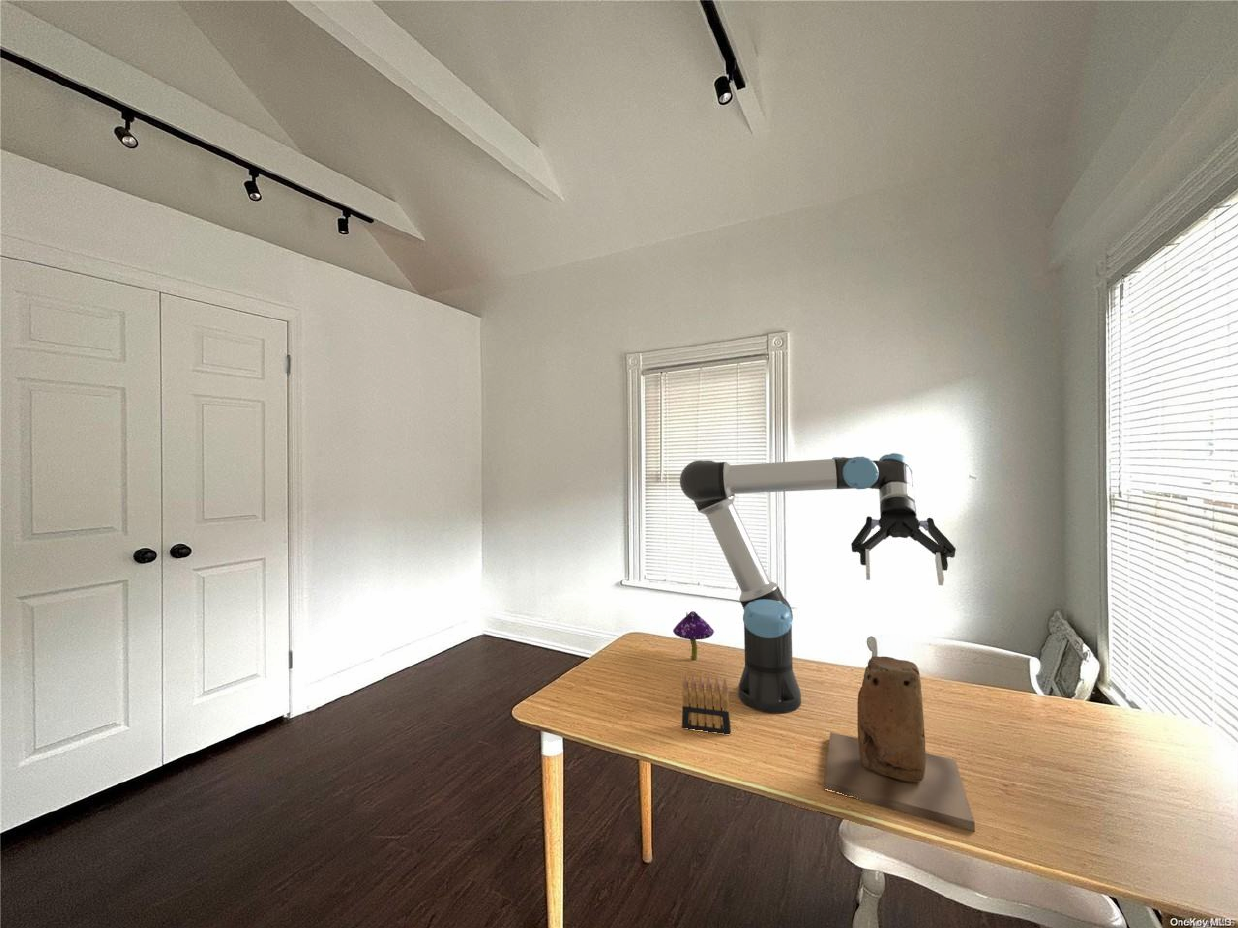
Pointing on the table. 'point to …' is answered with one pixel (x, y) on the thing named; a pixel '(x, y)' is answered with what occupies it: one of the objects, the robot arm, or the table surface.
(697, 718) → the ammunition clip
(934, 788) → the walnut board
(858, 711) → the block
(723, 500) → the robot arm
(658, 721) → the table surface
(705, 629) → the decorative mushroom
